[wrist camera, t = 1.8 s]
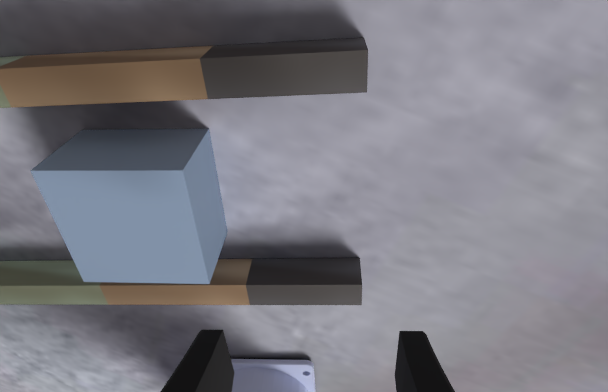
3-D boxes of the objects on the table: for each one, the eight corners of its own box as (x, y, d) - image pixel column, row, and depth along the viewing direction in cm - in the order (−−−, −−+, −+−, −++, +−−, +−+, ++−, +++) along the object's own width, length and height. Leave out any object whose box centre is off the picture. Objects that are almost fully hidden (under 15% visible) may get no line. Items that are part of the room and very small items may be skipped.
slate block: (228, 229, 21) (209, 284, 18) (121, 228, 22) (83, 281, 18) (209, 126, 18) (182, 170, 15) (84, 128, 18) (30, 170, 15)
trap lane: (359, 277, 22) (361, 304, 21) (-89, 279, 25) (-120, 304, 23) (363, 37, 15) (367, 50, 14) (-267, 71, 18) (-329, 85, 16)
